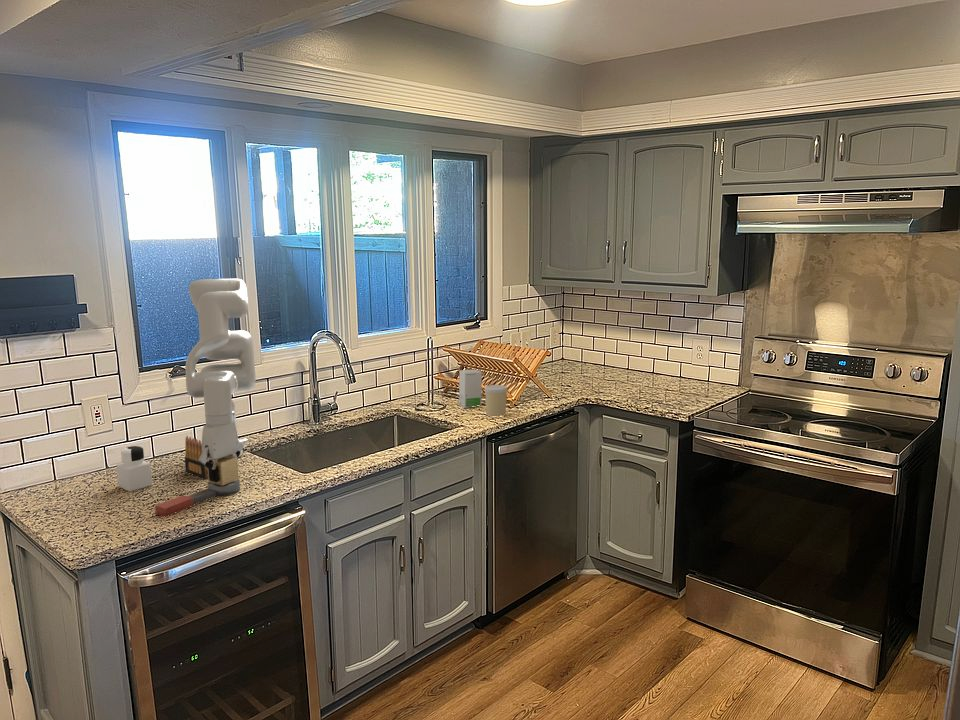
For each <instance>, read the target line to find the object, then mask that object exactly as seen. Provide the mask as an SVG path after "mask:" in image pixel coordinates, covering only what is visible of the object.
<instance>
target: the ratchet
mask: <svg viewBox="0 0 960 720" xmlns="http://www.w3.org/2000/svg"><path fill="white" fill-rule="evenodd" d="M240 490H241V481H240V479H239V480H236V481H234V482H231V483H228V484H226V485H223V486H222V485H218V484H214V483H210V482H207V488H205V489H203V490H200V491H198V492H195V493H192V494H188V495H184V494H182V495H179V496H176V497H174V498H172V499H168V500H166V501H163V502H161V503H158V504H156V505H154V510H155V514H156V515H158V514H159V515H158V516H161V515H162V516H161V517H164V516H165V517H164V518H167V517H169V516H168V515H170V516H172V515H174V514H173V513H175V512H177V513H179V512H178V511H180V512H182V511H184V510H183V509H185V510H187V509H189V508H188V507H190V506H192V507H194V506H195V505H197V504H196V503H198V502H200V503H202V502H201V501H203V502H205V501H207V500H206V499H208V500H210V499H212V497H213V498H215V497H225V496H224V495H226V496H231V495H233V493H234V494H236V493H238V492H240ZM230 494H231V495H230ZM214 496H215V497H214ZM209 498H210V499H209ZM204 500H205V501H204ZM194 504H195V505H194ZM198 504H199V503H198ZM193 505H194V506H193ZM186 508H187V509H186ZM190 508H191V507H190ZM181 510H182V511H181ZM171 514H172V515H171ZM175 514H176V513H175ZM166 516H167V517H166Z"/></svg>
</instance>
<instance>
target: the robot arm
mask: <svg viewBox="0 0 960 720" xmlns="http://www.w3.org/2000/svg"><path fill="white" fill-rule="evenodd" d="M247 289H248V288H247V285H246V283H245V282H244V280H243V279H240V278H208V279H206V278H204V279H197V280H194V281H192V282H190V283H189V287H188V293H189V296H190V299H191V302H192V304H193V307H194V309H195V310H196V312H197V314H198V328H199V330H198V331H199V332H198V333H199V340H198V341H197V343H196V344H195V345H194V346H193V347H192V349H191V350H190V352H189V353H188V355H187V358H186V361H185V388H186V392H187V395H189V396H190V398H195V399H199V398H200V399H201V398H203V403H204V404H203V405H204V415H205V416H204V417H205V418H204V419H205V424H204V425H203V427H202V434H201V443H202V454H201V456H200V458H199V462H201V463H202V464H203V465H204V466H206V468H208V470H209V480H210V481H213V482H218V469H216V465H217V461H218V459H220V458H223V457H226V456H229V455H231V456H235V457H237V460H238V461H239V458H240V457H241V456H242V455H243V454H244V453H243V452H244V451H243V449H244V446H245V445H247V444H249V439H248V438H242V439H240V438H239V435H238V429H237V420H236V419H237V417H236V405H235V402H234V401H233V399H232V398H233V397H232V395H234V393H235V392H246V391H247V392H248V391H251V390H253V389H254V388H255V385H256V369H255V367H256V366H255V353H254V342H253V337H252V336H251V334H250V332H248V331H246V330H230V328H229V319H233V318H234V319H238V318H239V319H240V318H241V319H242V318H244V317H246V316H247V314H248V309H249V300H248V291H247ZM203 357H205V358H206V359H207V360H210V361H226V360H227V361H228V360H238V361H240V362H234V363H233V362H232V363H215V364H210V365H206V366H204V367H202V368H201V370H200V372H196V368H197V367H196V366H197V364H198V361H199V360H200V359H201V358H203ZM206 458H207V459H208V461H207V460H206ZM212 460H213V463H212ZM211 463H212V464H211Z"/></svg>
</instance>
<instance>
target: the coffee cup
mask: <svg viewBox="0 0 960 720" xmlns="http://www.w3.org/2000/svg"><path fill="white" fill-rule="evenodd" d="M507 396H508V387H507V386H505V385H501V384H491V385H490V384H489V385H485V387H484V397H485V413H486V414H487V415H490V416H500V415H504V414H505V415H506V412H507V410H506V409H507V398H508V397H507ZM487 415H486V416H487Z"/></svg>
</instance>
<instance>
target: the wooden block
mask: <svg viewBox="0 0 960 720" xmlns="http://www.w3.org/2000/svg"><path fill="white" fill-rule="evenodd" d="M207 461H208V459H207ZM238 461H239V459H238V460H237V457H235V456H231V455H229V456H226V457H223V458H220V459H218V461H217V465H216V469H218V482H213V481H210V480H209V470H208V478H207V481H208V482H210V483H214V484H218V485H222V486H223V485H226V484H228V483H231V482H234V481H236V480H240V478H239V477H240V476H239V464H238ZM212 463H213V460H212ZM212 463H211V464H212ZM208 482H207V483H208Z"/></svg>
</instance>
